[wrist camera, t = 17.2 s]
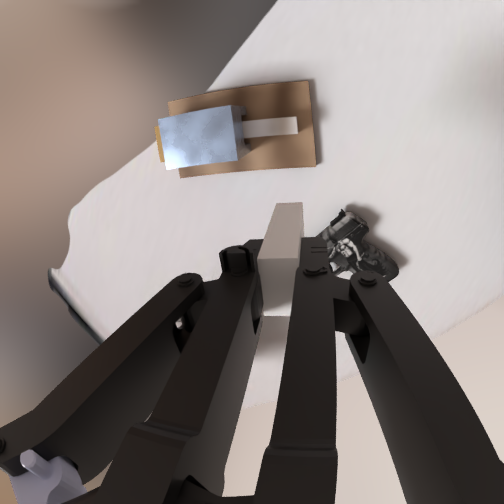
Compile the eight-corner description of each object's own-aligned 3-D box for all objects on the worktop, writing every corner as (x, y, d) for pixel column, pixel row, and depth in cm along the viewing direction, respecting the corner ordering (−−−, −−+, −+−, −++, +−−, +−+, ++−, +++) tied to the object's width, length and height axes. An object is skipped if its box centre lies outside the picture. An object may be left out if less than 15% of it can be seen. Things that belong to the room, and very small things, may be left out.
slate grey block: (245, 106, 35) (230, 105, 28) (251, 151, 37) (237, 160, 31) (184, 116, 37) (158, 119, 30) (191, 158, 39) (166, 169, 32)
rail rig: (308, 81, 32) (308, 76, 27) (315, 165, 38) (317, 174, 32) (170, 102, 37) (150, 102, 31) (182, 176, 42) (165, 186, 37)
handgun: (306, 335, 49) (250, 287, 46) (307, 322, 52) (254, 275, 49) (402, 274, 40) (351, 208, 36) (397, 262, 42) (348, 200, 39)
